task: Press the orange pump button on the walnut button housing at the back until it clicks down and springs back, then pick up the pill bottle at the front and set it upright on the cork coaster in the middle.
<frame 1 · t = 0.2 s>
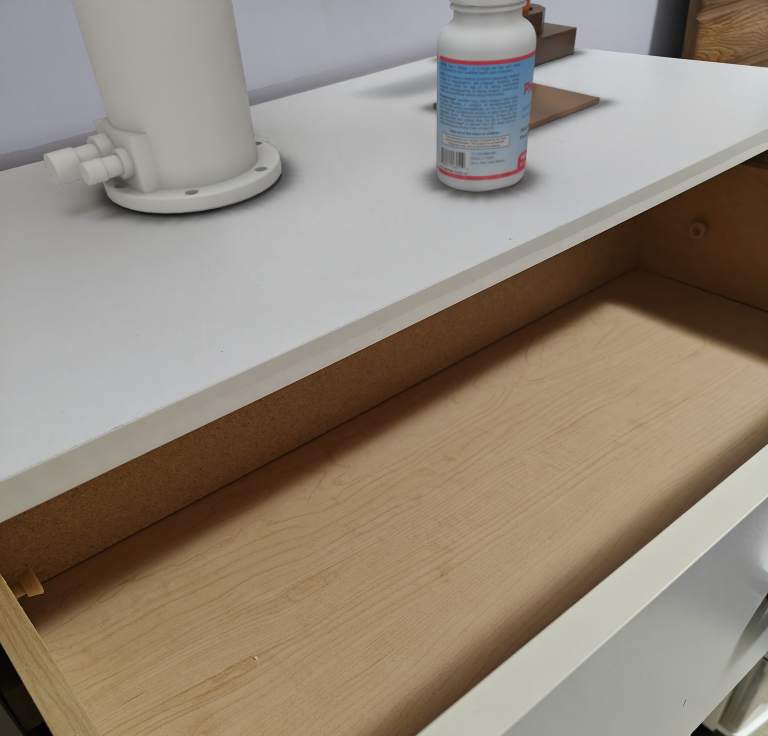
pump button: (511, 2, 67), point 4 cm above the table, slide at 0.1 cm
button housing: (507, 56, 70), on the table
coaster: (515, 105, 58), on the table
pill bottle: (479, 180, 47), on the table
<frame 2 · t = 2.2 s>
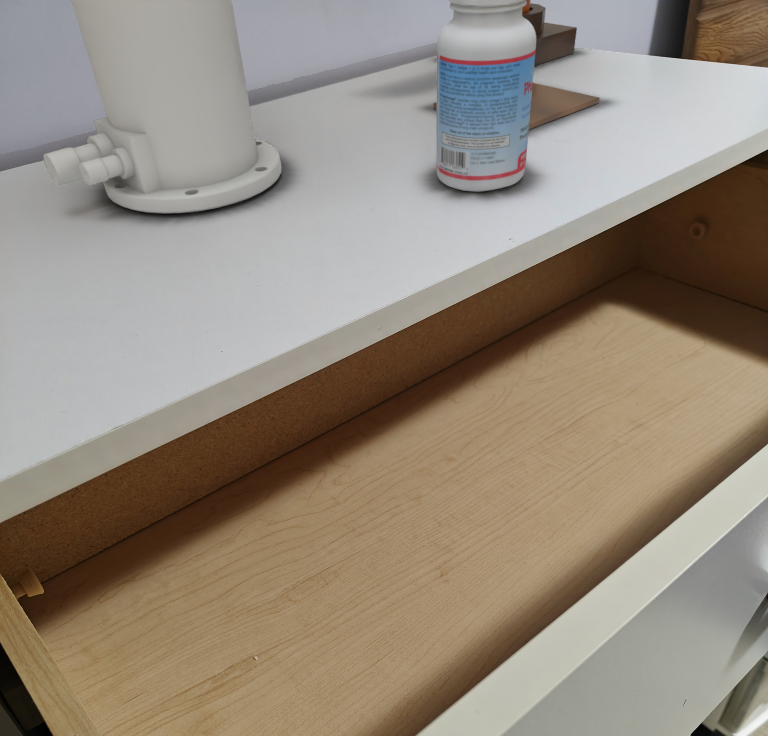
nothing on the table moved.
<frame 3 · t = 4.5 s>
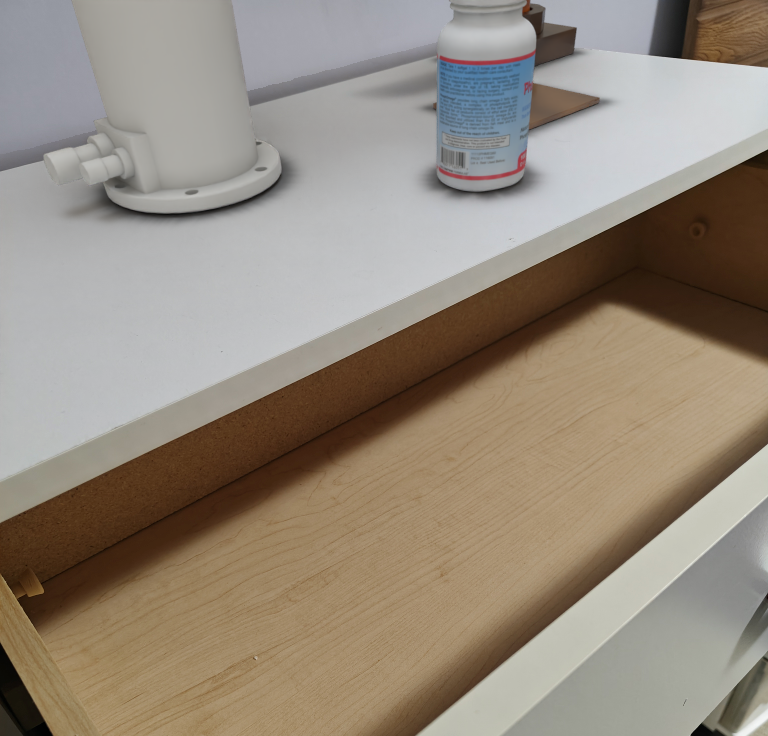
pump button: (511, 7, 67), point 4 cm above the table, slide at -0.2 cm, touching gripper
everything else where it was.
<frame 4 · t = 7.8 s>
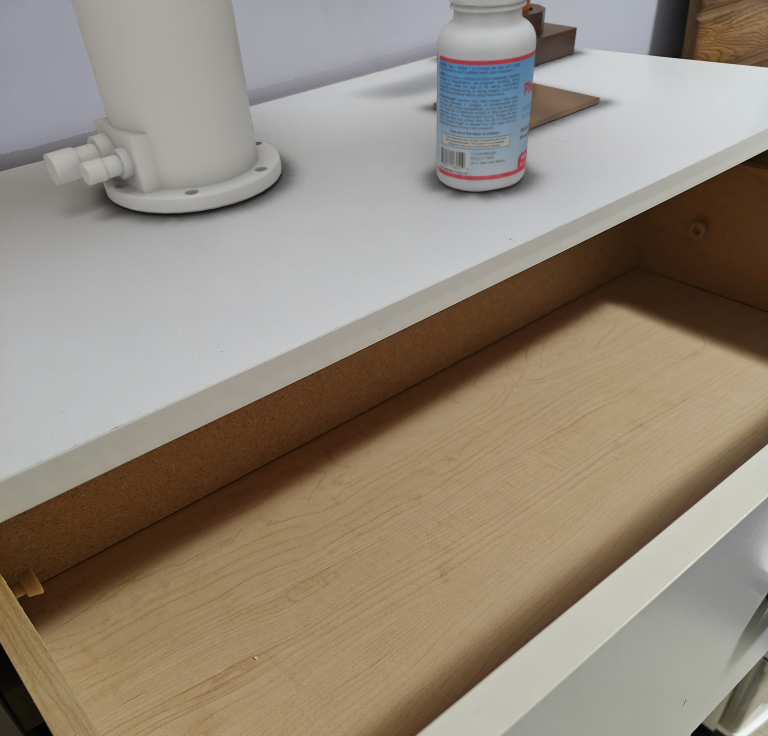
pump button: (511, 3, 67), point 4 cm above the table, slide at 0.1 cm
everything else where it was.
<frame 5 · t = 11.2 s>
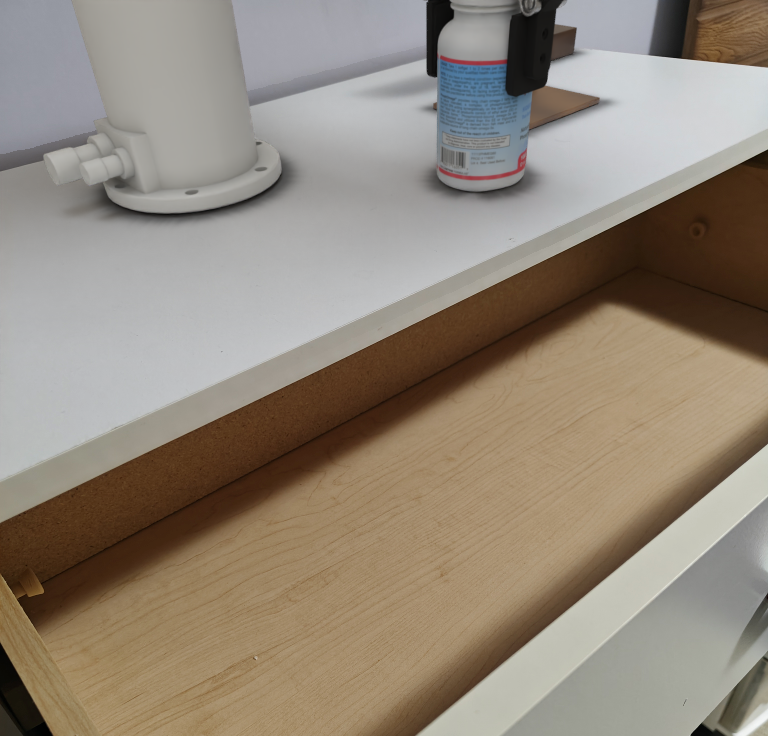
hand: (485, 78, 43), 6 cm above the table, tool pointing down, fingers closed on pill bottle, 6 cm apart
pill bottle: (479, 180, 47), on the table, touching gripper
everything else where it was.
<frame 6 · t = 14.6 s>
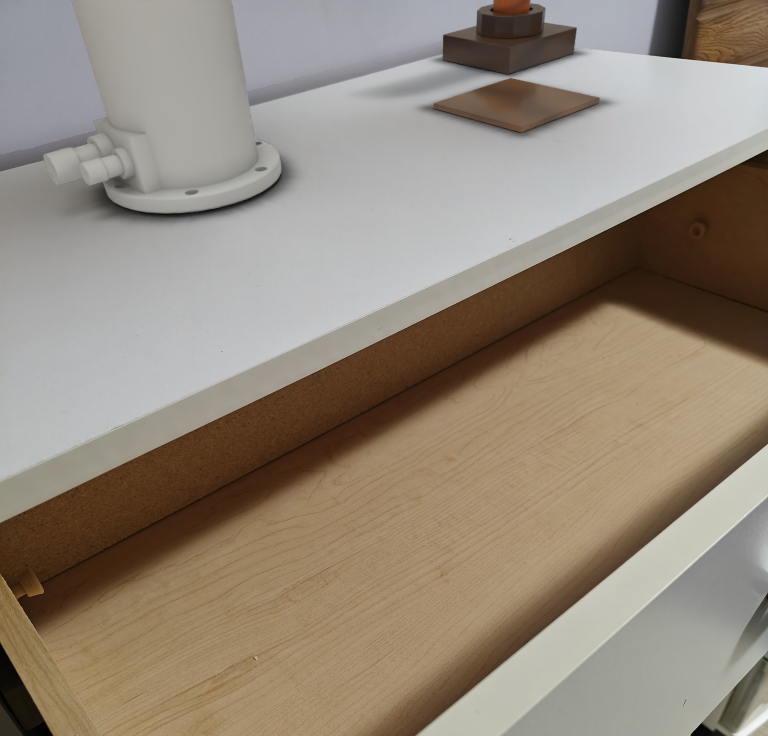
when the fingers open (6 cm above the table, at t = 18.0 s): pill bottle stays where it is, resting on coaster.
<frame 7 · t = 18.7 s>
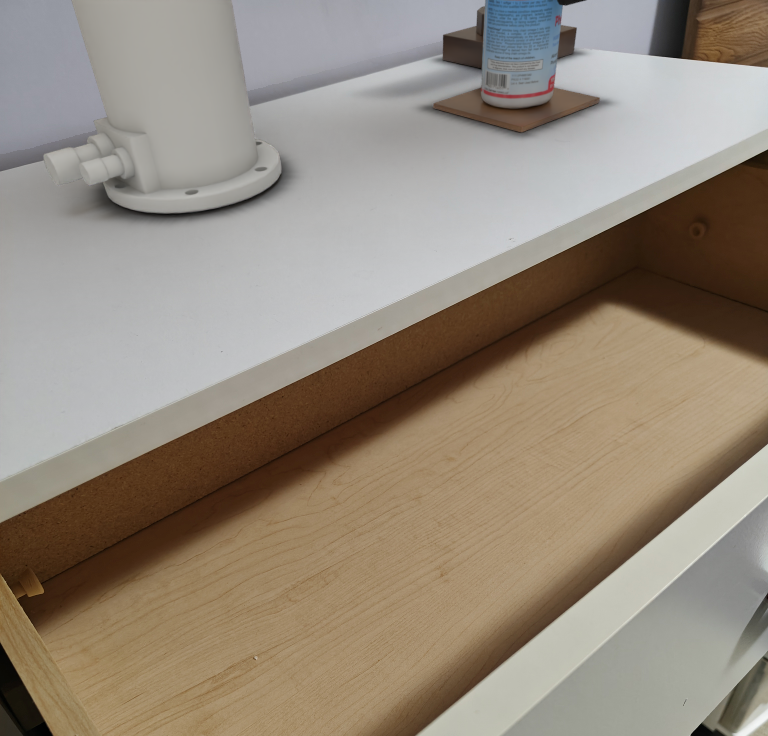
pill bottle: (515, 102, 58), resting on coaster
everything else where it was.
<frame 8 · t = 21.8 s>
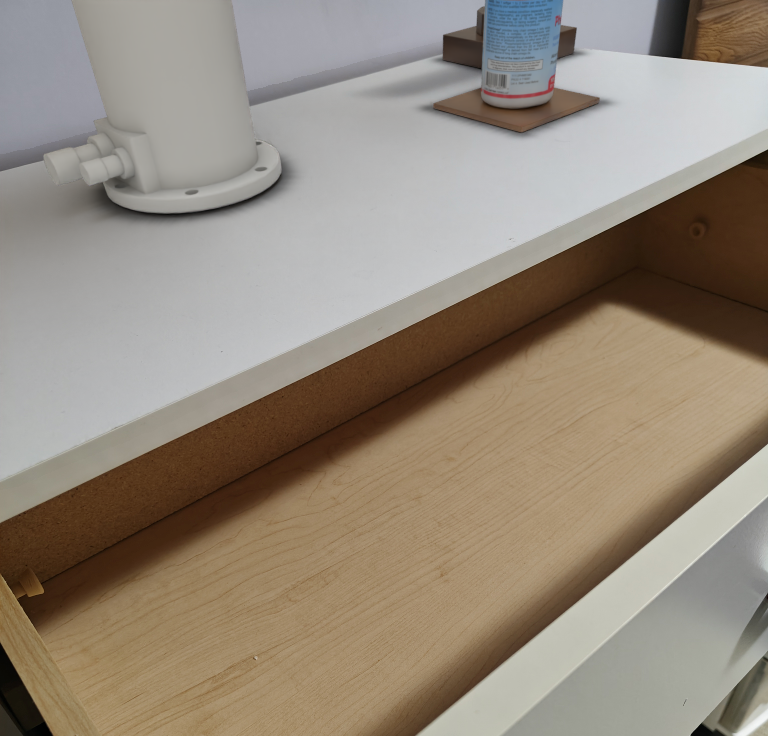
nothing on the table moved.
at the end: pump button pushed in 1.1 cm at the most during the clip, back to where it started at the end; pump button slide at 0.1 cm; pill bottle 0.1 cm off-centre on the coaster, point 0.2 cm above the coaster's base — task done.
